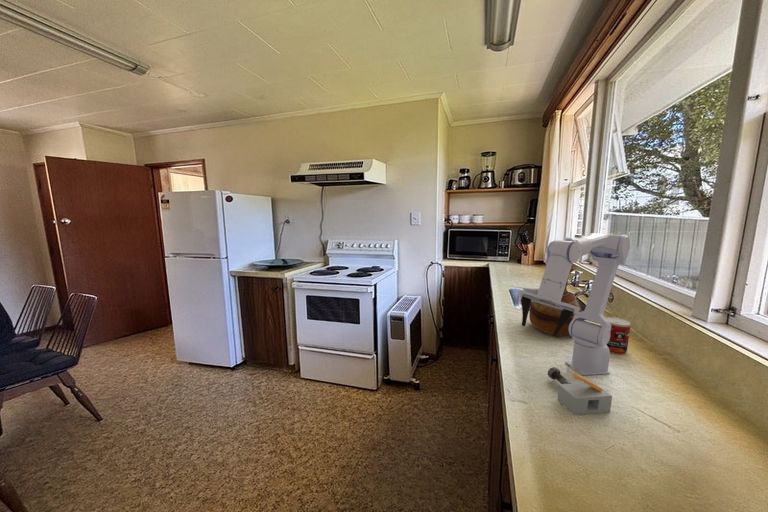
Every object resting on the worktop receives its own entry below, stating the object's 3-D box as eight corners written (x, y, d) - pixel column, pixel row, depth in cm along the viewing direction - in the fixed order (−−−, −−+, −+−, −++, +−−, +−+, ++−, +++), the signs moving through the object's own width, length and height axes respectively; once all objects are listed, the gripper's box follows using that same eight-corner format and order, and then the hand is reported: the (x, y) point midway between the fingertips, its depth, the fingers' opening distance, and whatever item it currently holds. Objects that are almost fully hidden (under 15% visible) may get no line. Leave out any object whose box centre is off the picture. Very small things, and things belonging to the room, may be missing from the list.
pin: (547, 378, 88) (548, 367, 88) (557, 377, 89) (558, 367, 88) (574, 401, 78) (575, 389, 77) (586, 400, 78) (587, 388, 78)
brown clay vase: (524, 332, 123) (530, 262, 119) (532, 318, 140) (537, 256, 135) (580, 344, 112) (588, 268, 108) (581, 327, 129) (588, 260, 124)
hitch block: (591, 397, 80) (593, 382, 80) (610, 412, 75) (612, 395, 74) (557, 399, 79) (558, 384, 79) (573, 415, 74) (575, 398, 73)
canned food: (604, 352, 106) (608, 323, 104) (598, 343, 113) (601, 316, 112) (630, 356, 103) (634, 326, 102) (622, 346, 111) (626, 318, 109)
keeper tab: (593, 386, 78) (594, 383, 78) (601, 391, 75) (602, 389, 75) (569, 373, 77) (571, 370, 76) (577, 378, 74) (578, 376, 74)
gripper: (523, 273, 79) (508, 321, 79) (586, 289, 72) (570, 342, 71) (525, 277, 85) (511, 321, 85) (583, 292, 78) (568, 341, 77)
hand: (538, 331), depth 78 cm, fingers open, 7 cm apart
